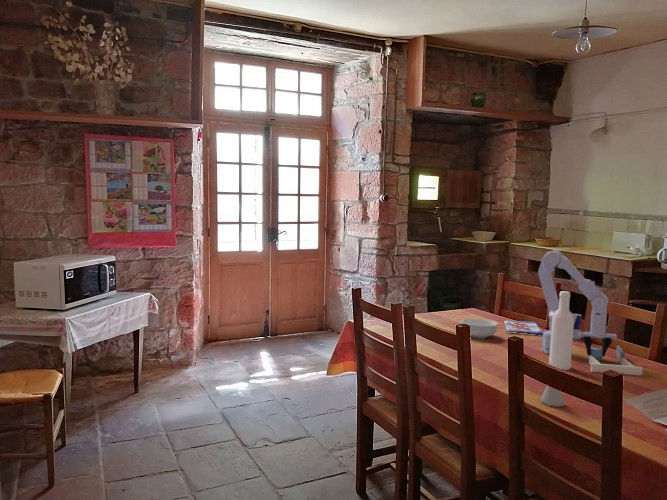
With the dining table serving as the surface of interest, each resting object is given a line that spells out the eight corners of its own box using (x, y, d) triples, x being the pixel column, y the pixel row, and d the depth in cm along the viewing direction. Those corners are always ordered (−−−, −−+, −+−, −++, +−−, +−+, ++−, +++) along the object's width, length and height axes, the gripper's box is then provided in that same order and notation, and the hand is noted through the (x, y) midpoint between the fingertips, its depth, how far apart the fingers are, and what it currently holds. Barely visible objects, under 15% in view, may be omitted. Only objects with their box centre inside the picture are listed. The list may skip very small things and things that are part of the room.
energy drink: (581, 341, 249) (583, 316, 248) (569, 340, 250) (571, 315, 249) (578, 338, 255) (580, 313, 254) (566, 337, 256) (568, 313, 255)
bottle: (573, 367, 208) (579, 292, 206) (566, 371, 203) (571, 294, 200) (553, 362, 214) (558, 289, 211) (545, 366, 208) (550, 291, 206)
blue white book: (536, 326, 279) (537, 321, 279) (544, 337, 257) (544, 332, 256) (502, 324, 283) (502, 318, 283) (506, 334, 260) (507, 329, 260)
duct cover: (615, 355, 226) (616, 345, 226) (618, 355, 226) (619, 345, 225) (620, 364, 213) (621, 353, 213) (624, 364, 213) (625, 353, 213)
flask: (536, 399, 173) (538, 369, 172) (557, 398, 174) (559, 369, 173) (546, 407, 166) (549, 376, 165) (569, 407, 167) (571, 376, 166)
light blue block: (590, 360, 219) (591, 350, 219) (587, 356, 224) (587, 347, 224) (603, 361, 218) (604, 351, 218) (599, 357, 223) (600, 348, 223)
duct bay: (591, 371, 204) (592, 363, 204) (582, 362, 215) (583, 355, 215) (642, 375, 201) (642, 367, 201) (630, 366, 212) (630, 358, 212)
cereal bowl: (500, 335, 256) (501, 321, 255) (491, 343, 242) (491, 327, 241) (466, 330, 265) (467, 316, 264) (455, 337, 251) (455, 322, 250)
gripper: (582, 324, 217) (580, 356, 218) (620, 326, 215) (617, 359, 216) (577, 320, 224) (575, 351, 225) (614, 322, 222) (611, 354, 223)
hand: (595, 355), depth 221 cm, fingers closed on light blue block, 5 cm apart
